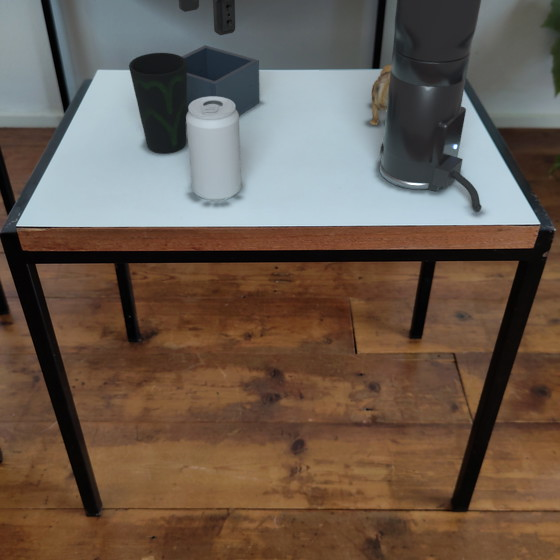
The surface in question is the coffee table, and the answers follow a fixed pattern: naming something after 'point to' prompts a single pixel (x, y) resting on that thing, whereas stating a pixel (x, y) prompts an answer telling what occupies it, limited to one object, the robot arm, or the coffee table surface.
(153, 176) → the coffee table surface
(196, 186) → the beverage can
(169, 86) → the cup
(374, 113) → the lion figurine
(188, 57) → the open box
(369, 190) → the coffee table surface
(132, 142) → the coffee table surface
